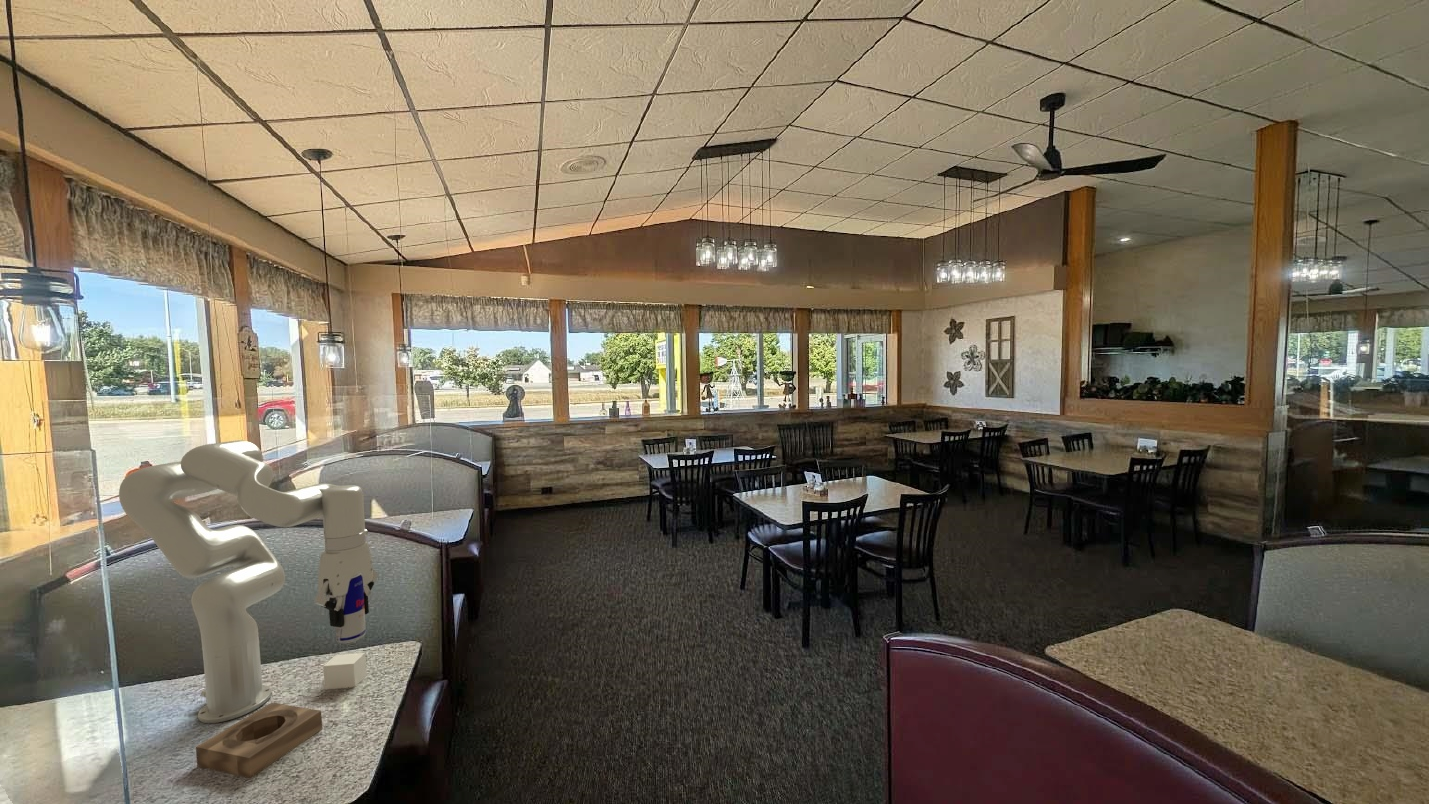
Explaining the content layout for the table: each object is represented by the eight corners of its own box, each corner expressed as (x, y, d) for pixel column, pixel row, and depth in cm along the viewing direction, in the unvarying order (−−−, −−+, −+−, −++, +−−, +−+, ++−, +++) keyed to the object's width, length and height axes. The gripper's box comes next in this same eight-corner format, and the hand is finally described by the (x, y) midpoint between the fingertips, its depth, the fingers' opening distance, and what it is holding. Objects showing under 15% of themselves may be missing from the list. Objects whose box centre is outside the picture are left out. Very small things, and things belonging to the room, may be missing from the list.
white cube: (324, 689, 127) (323, 666, 126) (337, 678, 132) (335, 655, 131) (355, 687, 127) (353, 663, 127) (366, 675, 132) (365, 652, 132)
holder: (197, 766, 102) (195, 747, 102) (273, 719, 116) (271, 702, 115) (250, 778, 99) (249, 757, 98) (322, 728, 112) (321, 710, 112)
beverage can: (350, 645, 115) (346, 579, 114) (329, 643, 116) (325, 578, 115) (372, 633, 120) (368, 569, 119) (351, 631, 121) (347, 568, 120)
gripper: (365, 529, 126) (369, 601, 127) (293, 553, 109) (298, 636, 110) (391, 530, 124) (395, 604, 125) (322, 555, 107) (327, 640, 108)
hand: (350, 618), depth 118 cm, fingers closed on beverage can, 5 cm apart
